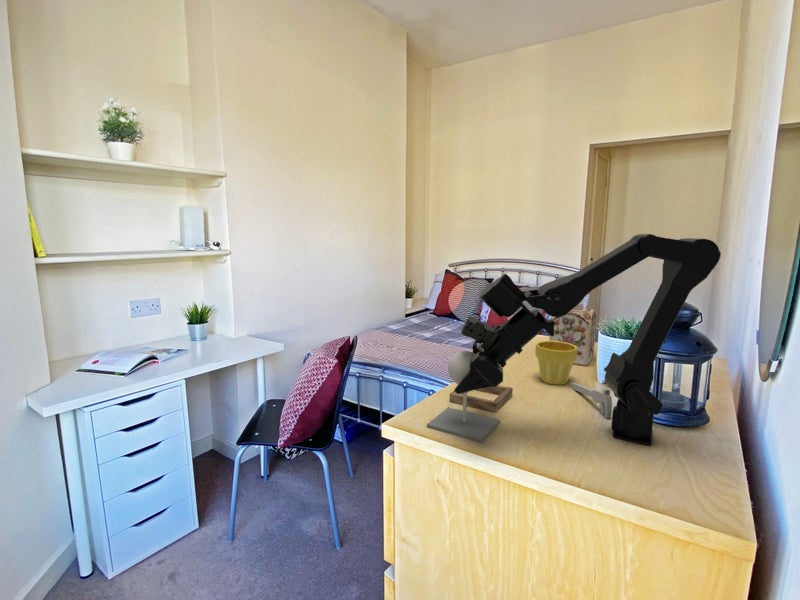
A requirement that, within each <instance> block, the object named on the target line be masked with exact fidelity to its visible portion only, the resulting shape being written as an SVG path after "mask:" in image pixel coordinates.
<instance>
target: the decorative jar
mask: <svg viewBox="0 0 800 600" xmlns="http://www.w3.org/2000/svg"><path fill="white" fill-rule="evenodd" d="M551 319H553V320H554V322H555V326H554V336H550V335H549V336H548V338H549V339H548V341H560V342H566V343H570V344H573V345H575V346H576V347H577V357H576V360H575V361H574V362H573V364H572V365H576V366H583V367H588V366H589V364H590V363H591V361H592V360H593V358H594V354H595V344H596V343H595V341H596V321H597V314H596V311H595V309H593V308H589V307H584V303H583V302H582V301H581V302H580V303H579V304H578V305H577V306H576V307H575V308H573V309H572V310H571V311H570V312H569V313H567V314H566V315H564V316H561V317H554V316H550V318H549V320H551Z"/></svg>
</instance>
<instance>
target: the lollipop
mask: <svg viewBox="0 0 800 600" xmlns="http://www.w3.org/2000/svg"><path fill="white" fill-rule="evenodd" d="M475 355H476V354H474V353H473V351H469V350H463V351H458V352H456V353H455V354H454V355H452V356H451V358H450V359H449V362H448V364H447V373H448V375H449V378H450V379H451V380H452V382H453V383H455V384H456V385H458V384H459V383H460V382H461V380H462V379H463V378H464V377H465V375H466V374H467V373H468V372H469V371H470V360H471V359H472V358H473V357H474V356H475ZM467 395H468V392H464V393H463V405H462V407H463V408H462V411H463V422H466V412H467V406H466V405H467Z"/></svg>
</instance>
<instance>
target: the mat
mask: <svg viewBox="0 0 800 600" xmlns="http://www.w3.org/2000/svg"><path fill="white" fill-rule="evenodd" d="M500 423H501V419H499V418H497V417H496V418H495V417H490V416H487V415H483V414H478V413H474V412H470V411H466V422H463V409H462V410H461V409H457V408H453V407H447V408H446V409H444V410H443V411H441V412H440V413H439V414H437V415H436V416H435V417H434V418H433V419H432V420H430V421H429V422H428V423H427V424H426V428H428V429H432V430H437V431H440V432H444V433H447V434H451V435H453V436H454V435H455V436H459V437H463V438H466V439H469V440H474V441H477V442H480V443H483V442H484V441H485V440H486V439H487V437H488V436H489V435H491V433H492V432H493V431H494V430H495V429H496V428H497V426H498V425H499V424H500Z"/></svg>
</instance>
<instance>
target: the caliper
mask: <svg viewBox="0 0 800 600" xmlns="http://www.w3.org/2000/svg"><path fill="white" fill-rule="evenodd" d="M568 386H570V388H571V389H572V390H574V391H577V392H578V393H581V394H583V395H585V396H587V397H589V398H591V399H592V402H593V403H596V404H598V403H599V409H600V414H601V416H603V417H604V416H605V417H604V418H605V419H612V413H613V409H612V408H613V399H612V395H611V389H608V388H602V389H601V390H599V389H591V388H589V387H587V386H584V385H582V384H579V383H577V382H570V383H568Z"/></svg>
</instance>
